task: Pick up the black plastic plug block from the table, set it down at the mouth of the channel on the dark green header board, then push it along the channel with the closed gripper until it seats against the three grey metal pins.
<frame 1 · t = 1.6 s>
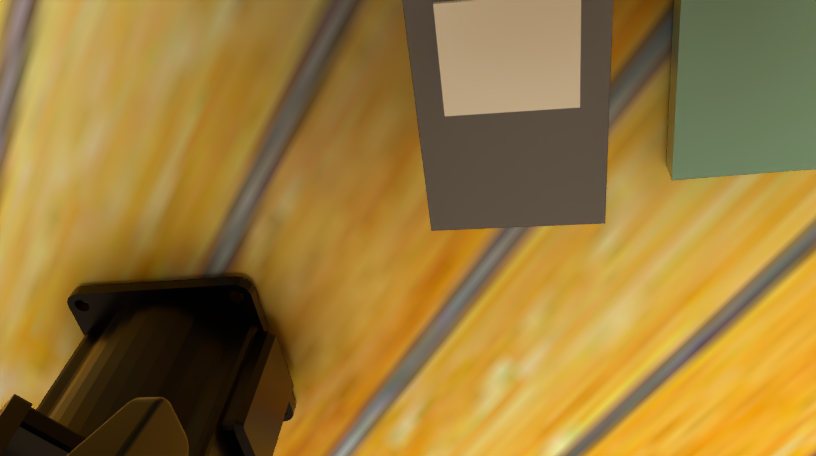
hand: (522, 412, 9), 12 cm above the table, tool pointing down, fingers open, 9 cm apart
plug: (509, 40, 19), on the table
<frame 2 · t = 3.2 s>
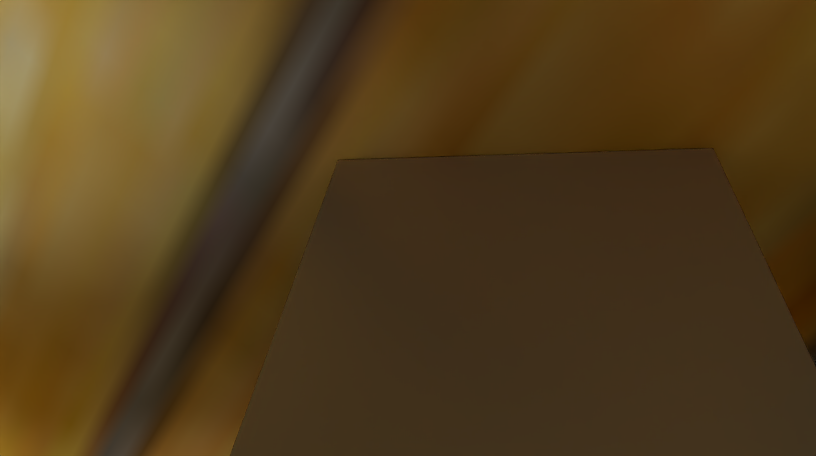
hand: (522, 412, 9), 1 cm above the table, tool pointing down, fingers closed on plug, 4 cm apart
plug: (521, 353, 10), on the table, touching gripper
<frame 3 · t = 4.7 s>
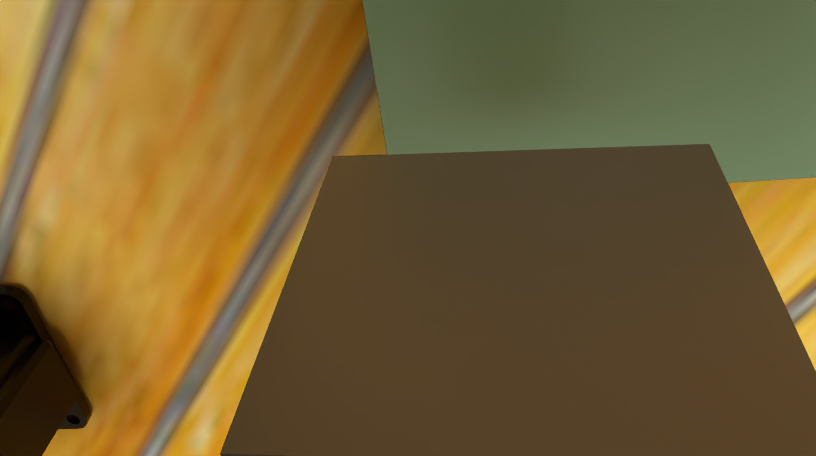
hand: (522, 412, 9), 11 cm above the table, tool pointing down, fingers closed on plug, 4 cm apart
plug: (517, 351, 10), point 10 cm above the table, touching gripper
when the fingers open (3 cm above the table, at t = 6.4 s): plug drops 1 cm, resting on header board.
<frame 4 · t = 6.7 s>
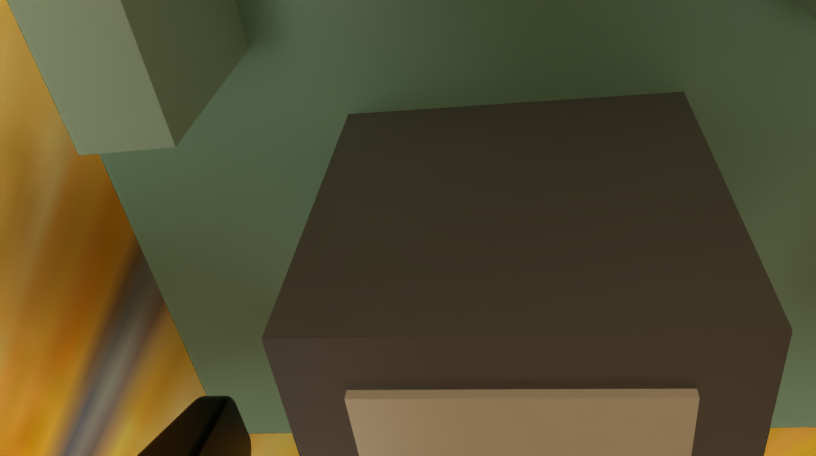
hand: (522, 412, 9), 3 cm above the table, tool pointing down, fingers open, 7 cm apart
plug: (519, 293, 11), point 1 cm above the table, touching header board
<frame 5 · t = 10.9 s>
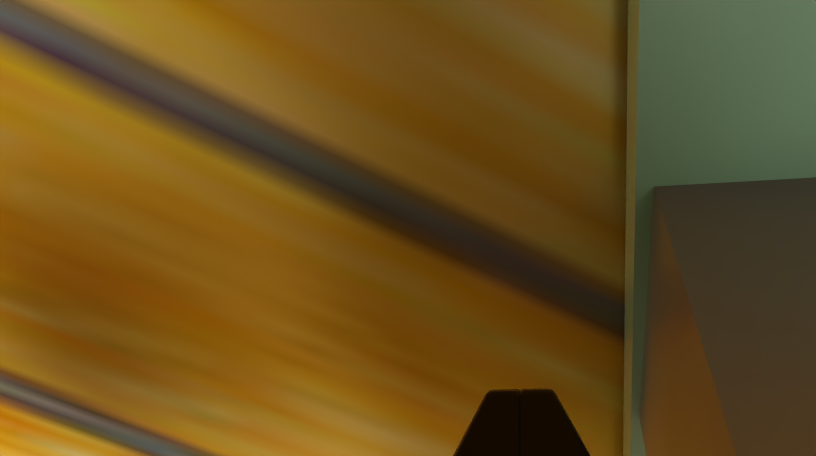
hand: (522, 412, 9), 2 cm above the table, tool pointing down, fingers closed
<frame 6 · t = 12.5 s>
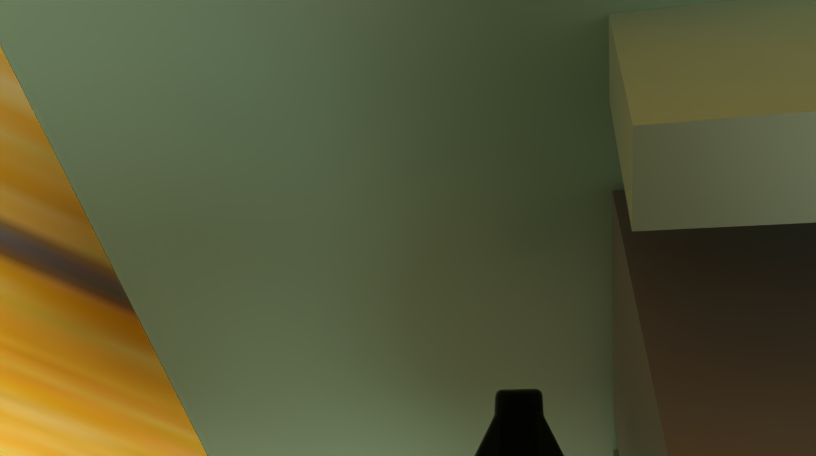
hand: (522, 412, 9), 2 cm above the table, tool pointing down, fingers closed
header board: (681, 265, 10), on the table
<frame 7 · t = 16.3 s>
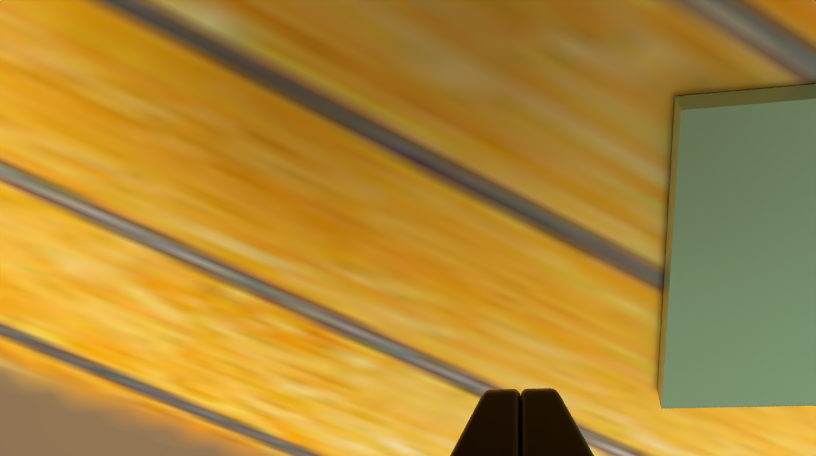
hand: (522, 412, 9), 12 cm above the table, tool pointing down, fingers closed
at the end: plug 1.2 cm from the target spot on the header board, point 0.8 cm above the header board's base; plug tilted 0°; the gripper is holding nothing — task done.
